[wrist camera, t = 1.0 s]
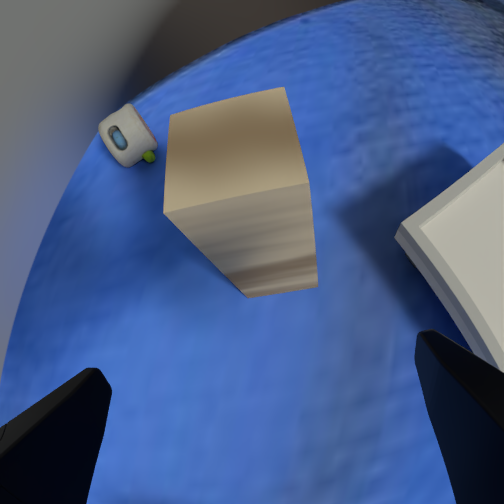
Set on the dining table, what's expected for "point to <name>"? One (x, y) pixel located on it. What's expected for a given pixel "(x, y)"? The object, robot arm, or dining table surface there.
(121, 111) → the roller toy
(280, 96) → the maple post
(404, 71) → the dining table surface
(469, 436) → the robot arm
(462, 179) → the white square tray
